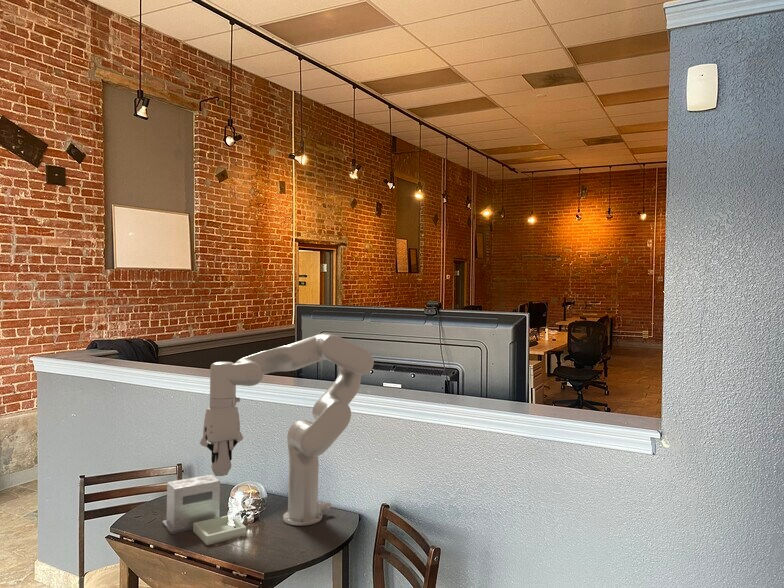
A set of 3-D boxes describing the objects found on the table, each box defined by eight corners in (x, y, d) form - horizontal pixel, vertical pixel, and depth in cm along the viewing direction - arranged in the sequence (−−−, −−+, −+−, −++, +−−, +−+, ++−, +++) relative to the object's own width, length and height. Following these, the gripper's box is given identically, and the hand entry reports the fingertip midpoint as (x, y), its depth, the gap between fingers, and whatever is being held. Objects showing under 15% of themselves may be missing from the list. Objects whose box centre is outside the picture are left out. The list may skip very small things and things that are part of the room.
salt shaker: (235, 474, 170) (235, 430, 170) (218, 478, 166) (218, 434, 166) (224, 470, 174) (224, 427, 174) (207, 474, 170) (208, 430, 170)
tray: (231, 522, 178) (231, 514, 178) (246, 535, 169) (246, 526, 169) (193, 531, 171) (193, 522, 171) (206, 545, 162) (206, 536, 162)
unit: (212, 512, 186) (213, 473, 186) (223, 522, 178) (224, 481, 178) (162, 523, 177) (163, 481, 177) (171, 534, 169) (172, 490, 169)
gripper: (243, 398, 178) (242, 456, 178) (191, 403, 168) (190, 465, 168) (253, 402, 172) (252, 462, 172) (199, 407, 162) (198, 471, 162)
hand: (221, 463), depth 170 cm, fingers closed on salt shaker, 3 cm apart
